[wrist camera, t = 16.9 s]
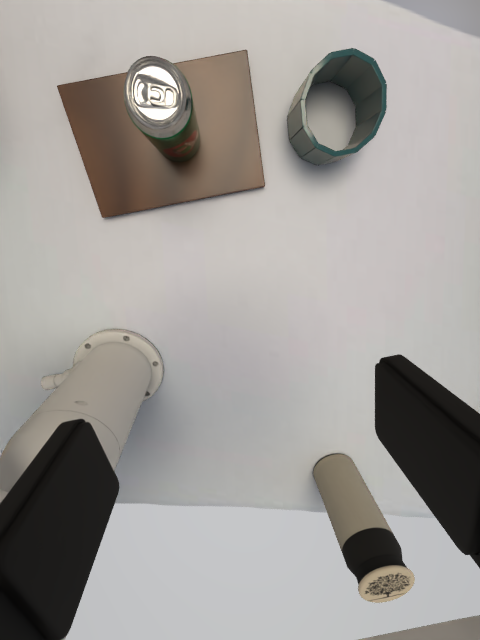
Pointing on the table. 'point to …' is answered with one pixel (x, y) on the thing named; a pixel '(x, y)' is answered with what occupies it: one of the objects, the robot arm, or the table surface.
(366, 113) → the teal cup
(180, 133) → the soda can
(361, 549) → the travel mug
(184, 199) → the walnut board
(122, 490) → the table surface
